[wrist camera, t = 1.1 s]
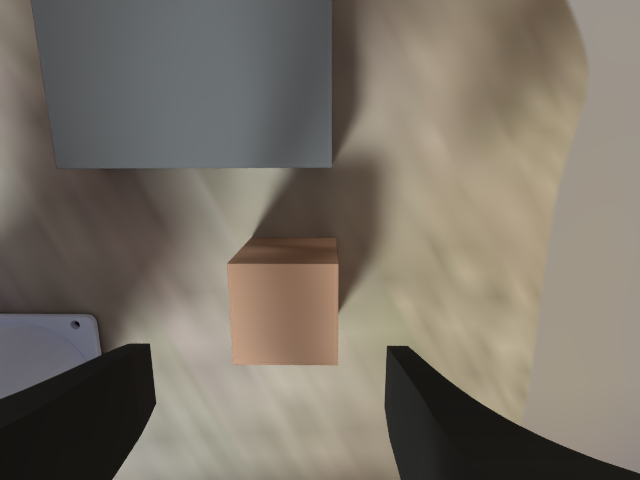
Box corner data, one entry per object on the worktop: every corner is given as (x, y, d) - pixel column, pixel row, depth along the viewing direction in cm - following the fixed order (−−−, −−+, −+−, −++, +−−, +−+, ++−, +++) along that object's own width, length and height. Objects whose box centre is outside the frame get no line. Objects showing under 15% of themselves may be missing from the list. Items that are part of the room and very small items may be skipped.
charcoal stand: (97, 166, 20) (56, 168, 17) (61, -109, 17) (5, -164, 14) (331, 165, 19) (331, 167, 16) (331, -114, 17) (332, -172, 14)
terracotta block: (254, 316, 21) (233, 364, 16) (251, 237, 20) (227, 263, 15) (335, 316, 21) (337, 365, 16) (335, 237, 20) (338, 264, 15)
